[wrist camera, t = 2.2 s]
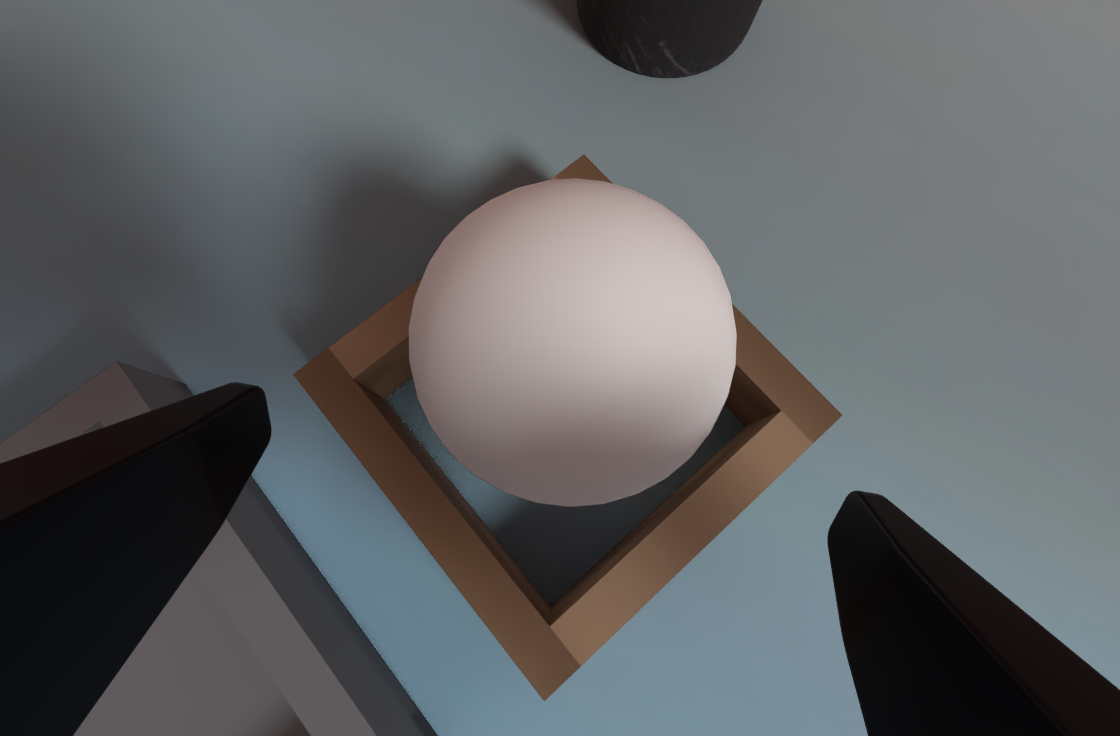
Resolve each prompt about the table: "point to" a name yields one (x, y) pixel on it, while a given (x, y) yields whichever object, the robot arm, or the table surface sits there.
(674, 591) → the table surface
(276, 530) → the tray
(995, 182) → the table surface
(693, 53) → the travel mug
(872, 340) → the table surface
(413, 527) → the socket block
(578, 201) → the lightbulb
